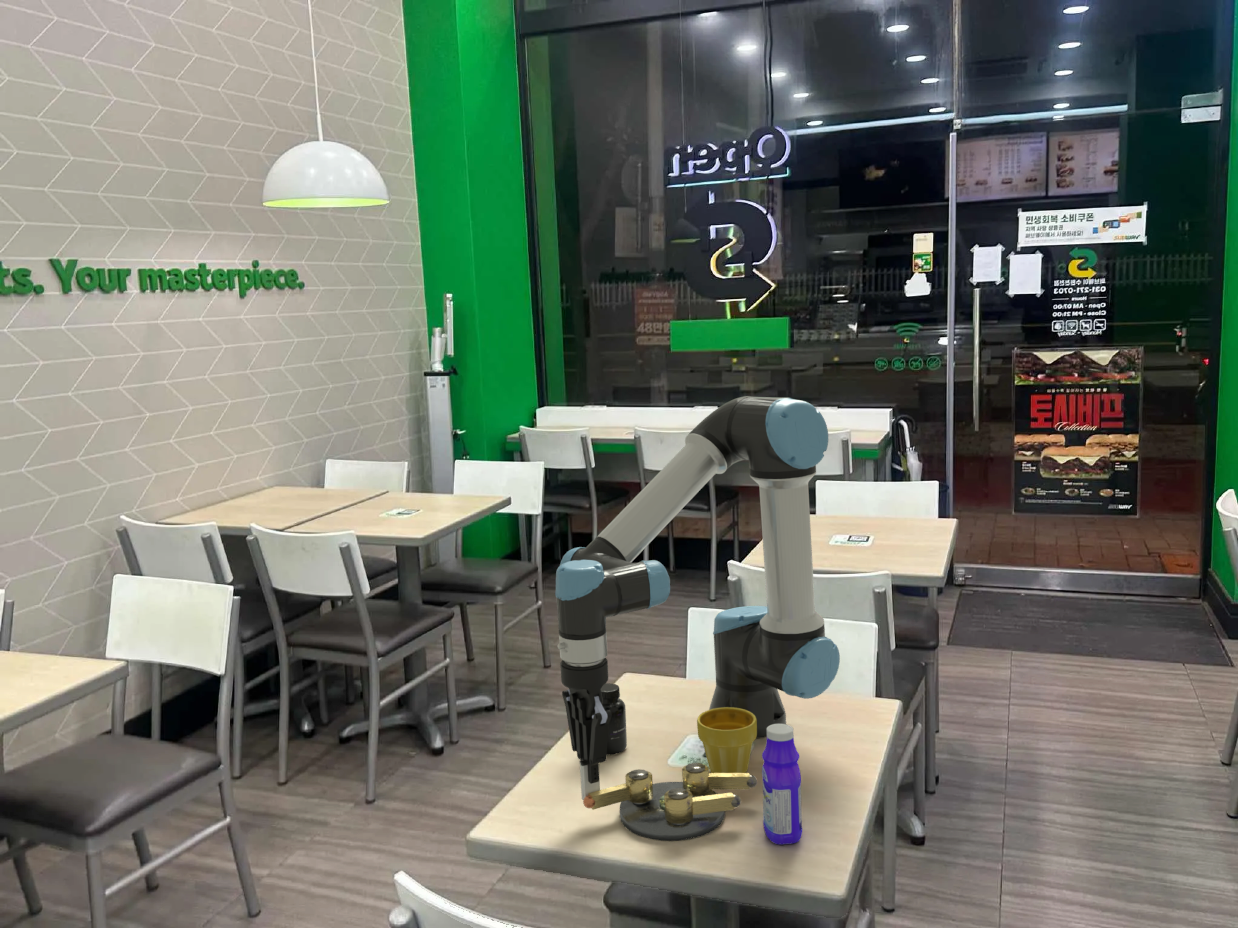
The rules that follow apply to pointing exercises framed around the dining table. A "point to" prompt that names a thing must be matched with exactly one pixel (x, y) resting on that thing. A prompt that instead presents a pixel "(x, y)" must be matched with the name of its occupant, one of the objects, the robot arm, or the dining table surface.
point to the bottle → (781, 786)
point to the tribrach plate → (652, 817)
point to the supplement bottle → (615, 718)
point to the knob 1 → (623, 791)
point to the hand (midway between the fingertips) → (591, 798)
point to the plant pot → (727, 738)
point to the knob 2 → (695, 804)
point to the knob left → (713, 779)
